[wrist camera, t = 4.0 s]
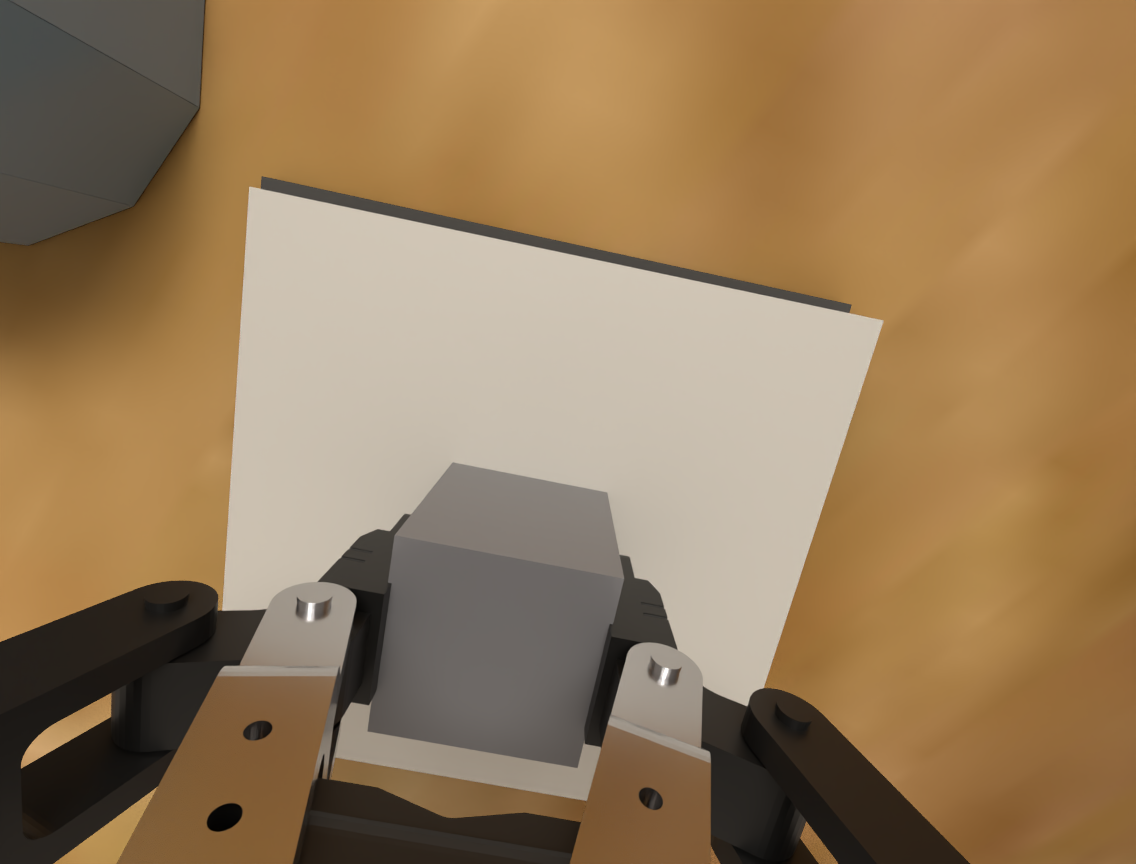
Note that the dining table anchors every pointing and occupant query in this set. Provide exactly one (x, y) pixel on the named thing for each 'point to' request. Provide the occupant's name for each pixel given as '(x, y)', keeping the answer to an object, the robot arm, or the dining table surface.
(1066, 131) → the dining table surface
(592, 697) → the robot arm
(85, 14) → the bowl
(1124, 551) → the dining table surface
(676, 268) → the mat
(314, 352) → the lid
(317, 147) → the dining table surface
